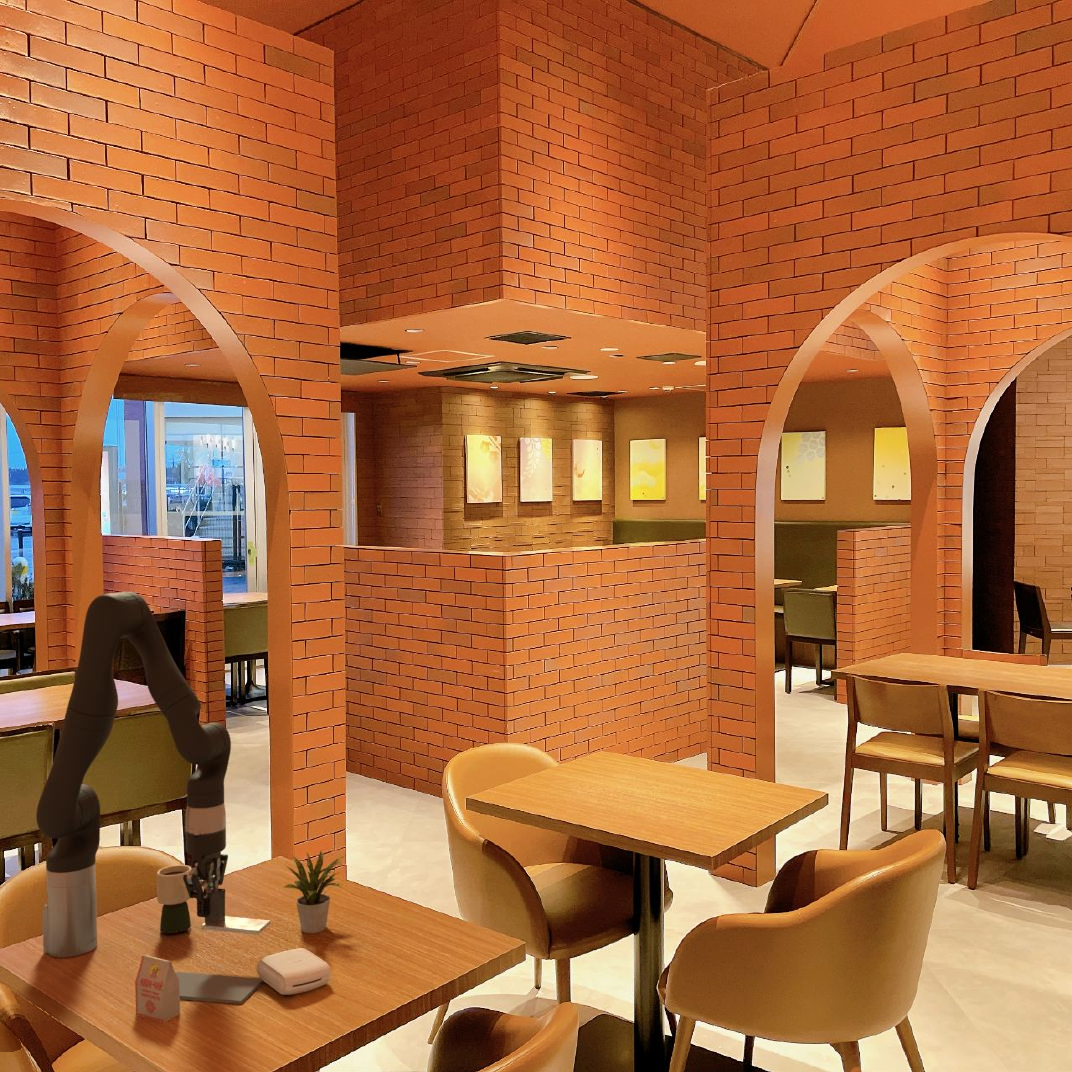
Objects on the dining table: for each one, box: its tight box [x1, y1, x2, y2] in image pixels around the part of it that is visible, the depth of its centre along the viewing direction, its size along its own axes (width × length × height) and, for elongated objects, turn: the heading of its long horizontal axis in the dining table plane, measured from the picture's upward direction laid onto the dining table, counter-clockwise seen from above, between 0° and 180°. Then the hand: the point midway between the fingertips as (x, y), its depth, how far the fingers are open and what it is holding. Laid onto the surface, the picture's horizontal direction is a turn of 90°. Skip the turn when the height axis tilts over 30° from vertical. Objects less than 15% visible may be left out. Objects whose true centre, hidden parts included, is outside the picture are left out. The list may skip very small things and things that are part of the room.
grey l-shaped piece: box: [200, 887, 271, 936], centre depth 198 cm, size 12×5×7 cm, turn 79°
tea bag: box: [134, 954, 181, 1023], centre depth 179 cm, size 4×7×10 cm, turn 64°
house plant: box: [282, 850, 346, 934], centre depth 215 cm, size 14×14×16 cm
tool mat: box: [175, 971, 265, 1005], centre depth 188 cm, size 18×9×1 cm, turn 79°
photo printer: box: [255, 947, 332, 996], centre depth 190 cm, size 10×4×12 cm
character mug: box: [156, 864, 192, 934], centre depth 216 cm, size 11×7×13 cm, turn 45°
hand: (206, 913), depth 199 cm, fingers closed on grey l-shaped piece
